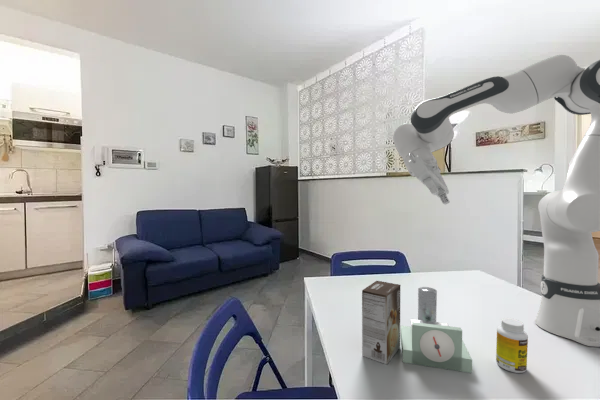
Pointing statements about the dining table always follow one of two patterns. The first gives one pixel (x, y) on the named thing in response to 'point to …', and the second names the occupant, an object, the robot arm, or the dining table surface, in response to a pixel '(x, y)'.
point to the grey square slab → (429, 322)
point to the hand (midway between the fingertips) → (441, 198)
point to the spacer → (427, 304)
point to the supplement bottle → (512, 346)
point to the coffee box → (381, 321)
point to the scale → (435, 347)
